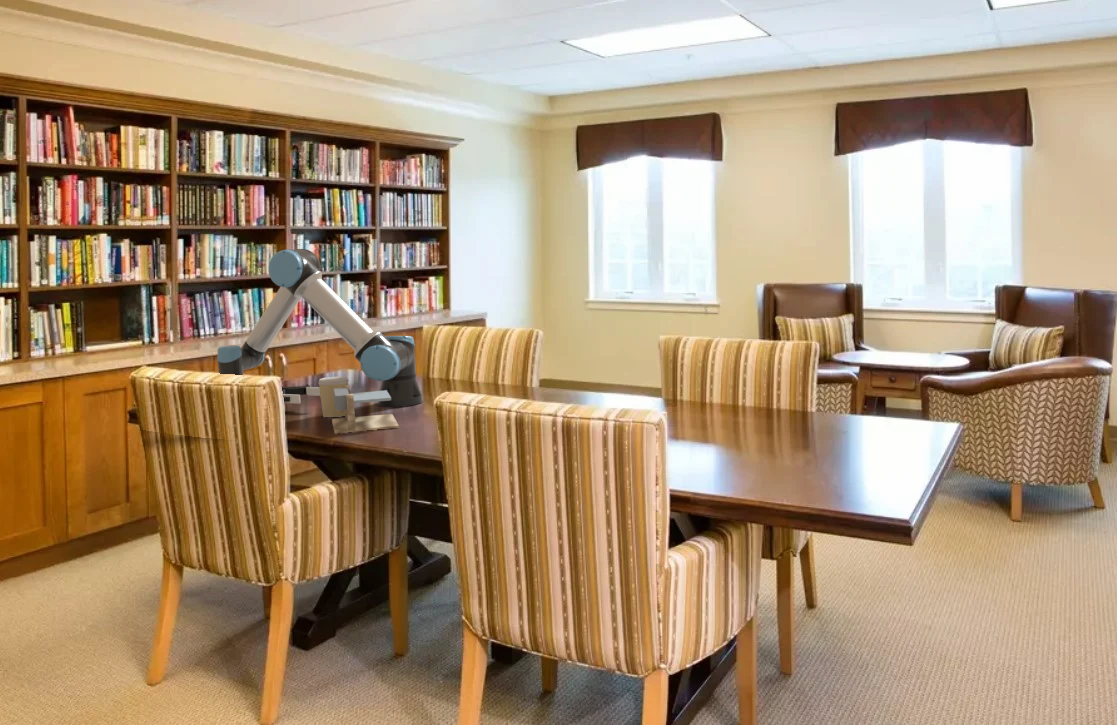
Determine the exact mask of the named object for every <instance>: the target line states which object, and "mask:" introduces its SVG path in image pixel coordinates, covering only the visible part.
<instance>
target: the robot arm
mask: <svg viewBox="0 0 1117 725" xmlns="http://www.w3.org/2000/svg"><path fill="white" fill-rule="evenodd" d="M321 270H322V266H321V262H320V259H319V258H318V256H317V255H316V254H315V253H314V252H313V251H311V250H309V249H306V248H299V249H298V248H297V249H289V248H287V249H283V250H279V251H278V252H276V253H275V254H274V255H272V257H271V258H270V260H269V262H268V270H267V271H268V275H269V278H270V279H271V281H272V283H274V284H275V285H276V286H278V287H279V288H278V290H277V292H276V293H275V295H274V296H273V298H272V299H271V301H270V302H269V304H268V306H267V307H266V309H265V310H264V312H263V314H262V315H261V316H260V318H259V320H258V321H257V323H255V325H254V327H253V329H252V330H251V332H250V333H249V335H248V336H247V338H246V340H245V341H244V343H243V344H242V346H240V345H237V344H233V345H232V344H230V345H229V344H228V345H222V346H219V347H218V348H217V366H218V374H219V373H220V374H235V375H243V376H244V371H247V370H250V369H251V370H252V369H254V368H257V367H259V366H261V364H263V363H264V362H265V361H264V360H265V354H266V351H267V350H268V349H269V347H270V346H271V344H272V343H273V341H274V339H275V338H276V336H277V335H278V334H279V332H280V330H281V329H282V327H283V326H284V324H285V323H286V322H287V320H288V318H289V317H290V316H291V314H292V312H293V311H294V309H295V308H296V307H297V305H298V303H299V302H300V300H301V299H303V300H304V301H305V302H306V304H308V305H309V306H310V307H311V308H312V309H313V310H314V311H315V312H316V313H317V314H318V315H319V316H320V317H321V318H322V319H323V320H324V321H325V322H326V323H327V324H328V325H329V326H330V327H331V328H332V329H333V330H334V331H335V332H336V333H337V334H338V335H339V336H340V337H341V338H342V339H343V340H344V341H345V342H346V343H347V344H348V345H349V347H351V348H352V349H353V351H354V357H355V359H356V360H357V361H358V362H359V364H360V368H361V370H362V372H363V373H364V375H365V376H366V377H367V378H369V379H371V380H373V381H377V382H381V383H380V387H379V390H378V391H384V390H387V392H388V393H389V395H390V397H391V400H390V401H377V405H378V406H380V407H385V408H387V407H388V408H389V407H390V408H392V407H393V408H396V407H397V408H398V407H399V408H401V407H408V406H414V405H419V404H422V403H423V402H424V401H423V400H424V399H423V394H422V391H421V388H420V386H419V383H418V381H417V371H416V370H417V367H416V351H415V350H416V345H415V344H416V343H415V339H414V337H413V336H410V335H384V334H383V333H382V331H374V330H373V329H372V328H371V327H370V326H369V325H368V324H367V323H366V322H365V321H364V320H363V319H362V318H361V317H360V316H359V315H358V314H357V313H356V312H355V311H354V310H353V309H352V308H351V307H350V306H349V305H348V304H347V303H346V302H345V301H344V300H343V299H342V298H341V297H340V296H339V295H338V294H337V292H336V291H334V290H333V289H332V288H331V287H330V286H329V285H328V284H327V283H326V282H325V281H324V280H323V273H322V271H321ZM281 387H282V391H283V397H284V403H283V404H297V405H298V404H302V403H301V396H305V395H306V396H315V397H316V396H317V397H319V396H320V389H319V386H316V387H315V386H311V385H309V384H306V385H298V386H281Z"/></svg>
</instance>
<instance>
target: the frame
mask: <svg viewBox="0 0 1117 725" xmlns="http://www.w3.org/2000/svg"><path fill="white" fill-rule="evenodd" d="M343 388H347V389H348V392H349V393H351V385H350V384H348V385H345V386H343ZM346 401H347V410H345V417H339V418H331V422H332V428H333V431H334V432H333V433H334V435H338V433H340V434H348V432H352V433H357V432H356V431H363V432H368V431H367V430H374V431H378V430H377V429H385V430H390V429H389V428H397V429H400V426H399V424H398V422H397V420H396V418H395V416H394V415H393V413H389V414H388V413H387V414H378V415H377V414H375V415H374V414H373V415H367V416H366V415H363V416H356V415H355V414H356V413H355V412H356V411H355V403H354V395H353V394H346Z"/></svg>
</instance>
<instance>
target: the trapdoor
mask: <svg viewBox="0 0 1117 725" xmlns="http://www.w3.org/2000/svg"><path fill="white" fill-rule="evenodd" d="M346 394H353V395H354V404H362V403H363V404H364V403H374V402H375V403H376V402H377V403H378V401H390V400H391V397H390V395H389V393H388V392H387V390H384V391H379V390H373V391H372V390H371V391H362V392H361V391H360V392H350V393H349V392H348V389H347V388H335V389H334V403H335V407H336V411H341V410H347V401H346Z"/></svg>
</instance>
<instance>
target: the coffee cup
mask: <svg viewBox="0 0 1117 725" xmlns="http://www.w3.org/2000/svg"><path fill="white" fill-rule="evenodd" d="M317 383H318V387H319V389H320V401H321V402H320V404H321V409H322V410H321V411H322V416H323V418H325V417H339V418H342V417H341V416H345V410H341V411H336V407H335V403H334V389H335V388H343V386H345V385H349V379H348V377H347V376H327V377H322V378H319V380H318V382H317Z"/></svg>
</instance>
